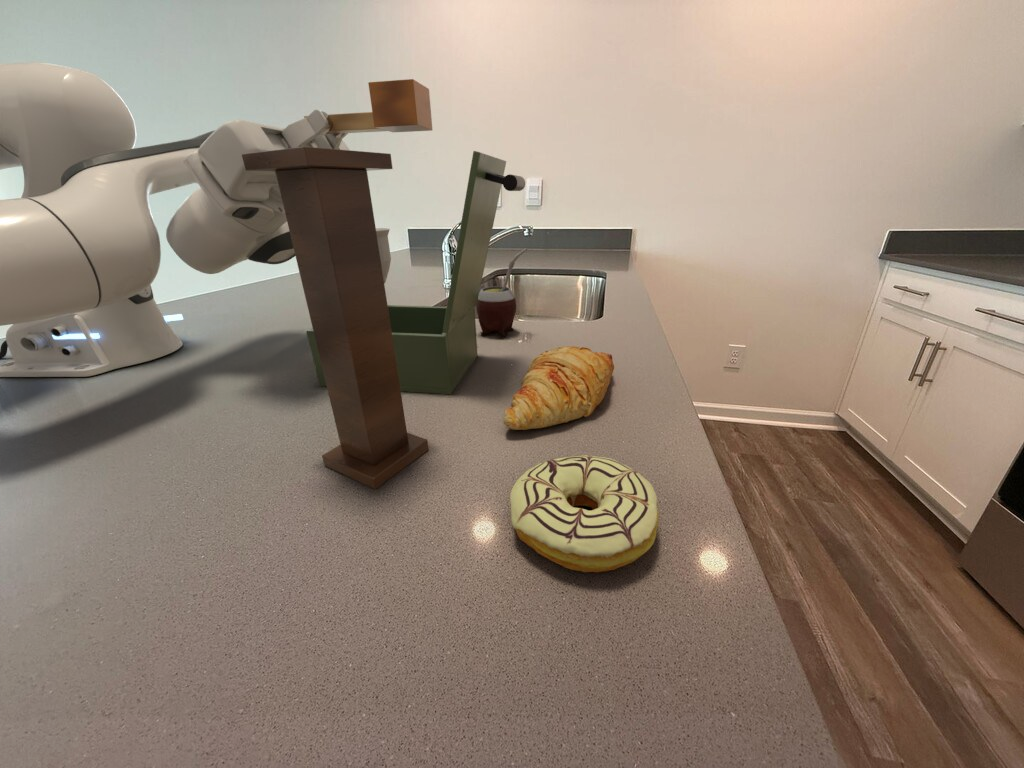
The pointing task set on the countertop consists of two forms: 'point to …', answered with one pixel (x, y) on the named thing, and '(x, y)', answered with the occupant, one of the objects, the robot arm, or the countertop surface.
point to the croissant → (560, 388)
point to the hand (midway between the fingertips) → (335, 119)
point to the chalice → (384, 250)
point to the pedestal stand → (346, 303)
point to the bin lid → (476, 233)
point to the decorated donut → (585, 512)
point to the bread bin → (424, 348)
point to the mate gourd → (497, 307)
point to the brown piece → (389, 110)
